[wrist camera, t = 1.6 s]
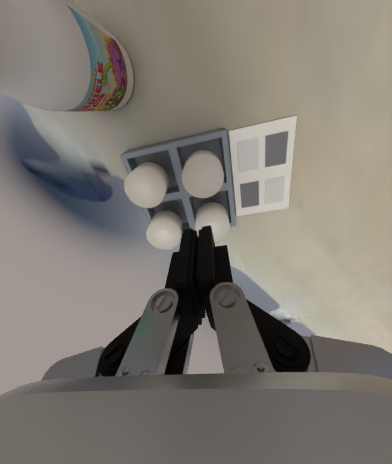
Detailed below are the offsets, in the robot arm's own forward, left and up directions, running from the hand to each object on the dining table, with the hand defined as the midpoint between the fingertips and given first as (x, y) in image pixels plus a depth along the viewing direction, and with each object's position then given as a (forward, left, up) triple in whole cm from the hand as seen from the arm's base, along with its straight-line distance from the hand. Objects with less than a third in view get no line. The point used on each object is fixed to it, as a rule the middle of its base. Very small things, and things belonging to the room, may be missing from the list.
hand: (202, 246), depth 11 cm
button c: (+7, -7, -17) cm, 20 cm away
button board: (+4, -4, -21) cm, 21 cm away
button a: (0, -7, -17) cm, 19 cm away
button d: (+7, 0, -17) cm, 19 cm away
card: (+4, +9, -21) cm, 23 cm away
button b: (0, 0, -17) cm, 17 cm away
